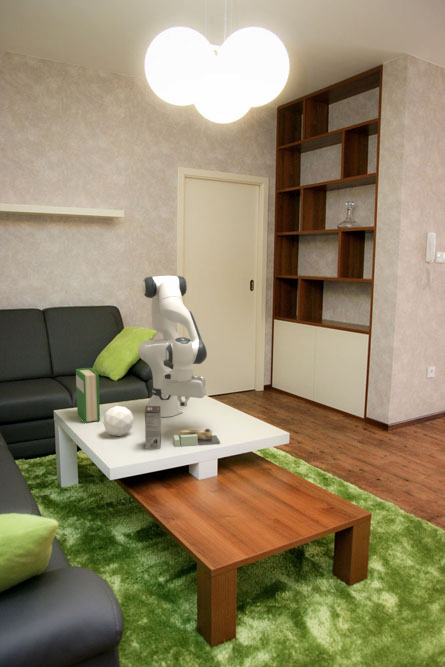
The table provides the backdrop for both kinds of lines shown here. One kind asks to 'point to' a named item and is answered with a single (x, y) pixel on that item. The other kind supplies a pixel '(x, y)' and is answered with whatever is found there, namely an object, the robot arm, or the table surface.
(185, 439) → the seat bracket
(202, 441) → the pin plate
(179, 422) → the table surface
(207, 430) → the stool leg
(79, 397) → the hardback book
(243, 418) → the table surface
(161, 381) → the robot arm
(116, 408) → the geodesic sphere
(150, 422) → the coffee box
